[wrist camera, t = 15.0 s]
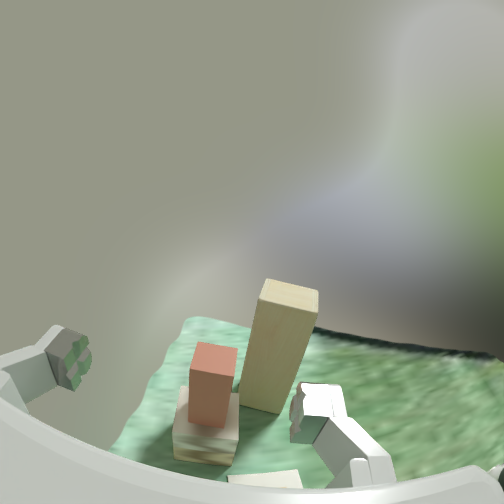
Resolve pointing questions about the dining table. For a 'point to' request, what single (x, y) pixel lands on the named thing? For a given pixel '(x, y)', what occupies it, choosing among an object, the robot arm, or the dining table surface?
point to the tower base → (205, 435)
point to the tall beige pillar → (277, 344)
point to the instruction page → (269, 479)
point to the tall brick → (211, 384)
